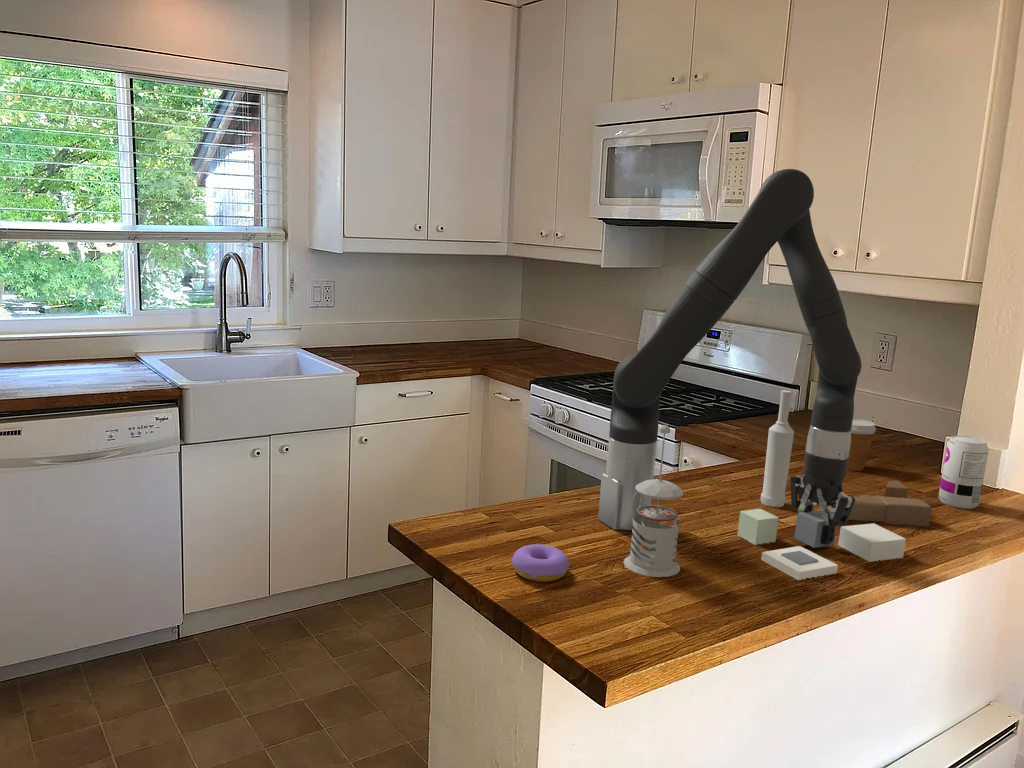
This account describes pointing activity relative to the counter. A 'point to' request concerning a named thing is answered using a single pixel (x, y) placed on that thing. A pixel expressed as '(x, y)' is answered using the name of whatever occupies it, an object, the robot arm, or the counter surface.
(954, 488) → the supplement can
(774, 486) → the bottle
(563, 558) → the donut
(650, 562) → the french press
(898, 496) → the wooden block set
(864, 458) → the disposable coffee cup
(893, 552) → the base block
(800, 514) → the slate cube
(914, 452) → the counter surface
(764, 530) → the sage cube
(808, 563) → the plate
